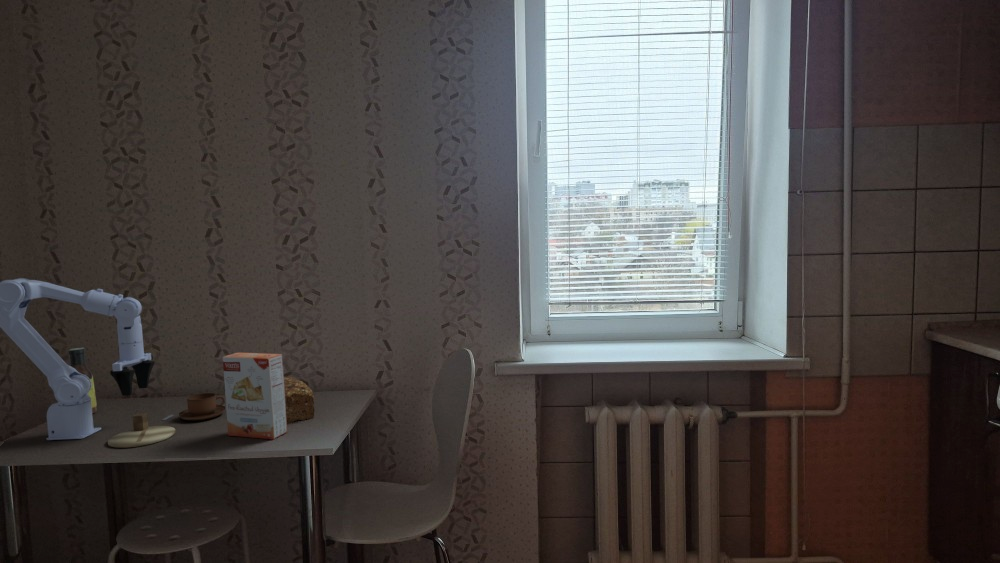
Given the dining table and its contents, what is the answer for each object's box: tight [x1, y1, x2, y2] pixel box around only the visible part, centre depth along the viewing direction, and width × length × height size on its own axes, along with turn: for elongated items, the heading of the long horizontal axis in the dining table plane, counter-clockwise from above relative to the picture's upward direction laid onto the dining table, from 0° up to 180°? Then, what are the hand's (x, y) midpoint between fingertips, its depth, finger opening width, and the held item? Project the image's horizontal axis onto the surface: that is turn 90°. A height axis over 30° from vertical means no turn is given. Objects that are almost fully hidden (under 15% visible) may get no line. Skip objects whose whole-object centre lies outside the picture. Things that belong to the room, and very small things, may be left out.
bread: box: [284, 375, 316, 424], centre depth 173 cm, size 19×11×10 cm, turn 32°
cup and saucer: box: [178, 392, 226, 422], centre depth 173 cm, size 12×12×6 cm
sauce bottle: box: [68, 347, 98, 415], centre depth 180 cm, size 6×6×20 cm
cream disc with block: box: [107, 412, 176, 449], centre depth 156 cm, size 15×15×5 cm
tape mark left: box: [161, 414, 175, 421], centre depth 174 cm, size 1×5×1 cm, turn 1°
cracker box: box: [222, 352, 288, 440], centre depth 154 cm, size 14×6×21 cm, turn 73°
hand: (135, 391), depth 165 cm, fingers open, 7 cm apart
